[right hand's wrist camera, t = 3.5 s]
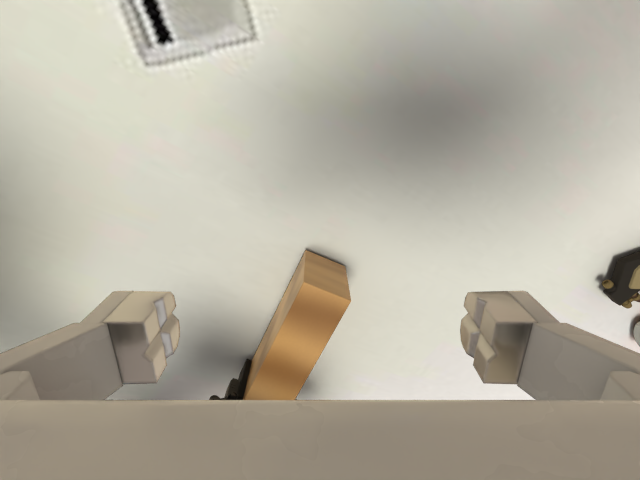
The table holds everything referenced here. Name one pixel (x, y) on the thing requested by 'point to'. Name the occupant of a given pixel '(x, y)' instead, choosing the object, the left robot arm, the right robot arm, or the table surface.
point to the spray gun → (625, 285)
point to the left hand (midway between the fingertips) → (266, 374)
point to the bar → (299, 329)
